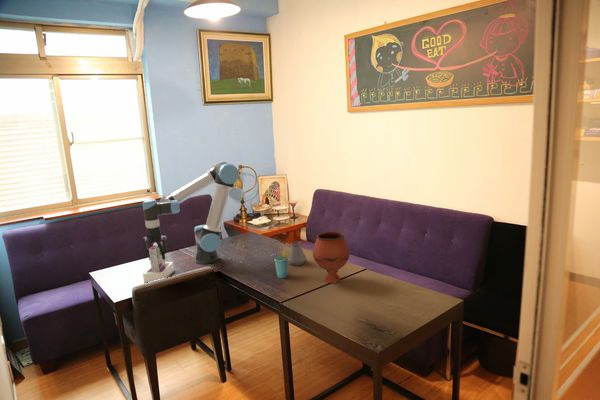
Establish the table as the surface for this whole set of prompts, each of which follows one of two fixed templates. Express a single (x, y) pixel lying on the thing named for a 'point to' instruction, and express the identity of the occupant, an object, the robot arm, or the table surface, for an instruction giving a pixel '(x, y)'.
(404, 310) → the table surface
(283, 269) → the cup
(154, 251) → the candy bar box
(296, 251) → the coffee pot
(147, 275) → the white open box
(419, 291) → the table surface
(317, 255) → the goblet
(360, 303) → the table surface
